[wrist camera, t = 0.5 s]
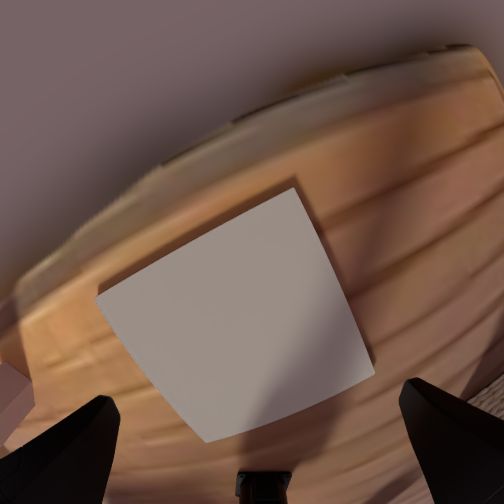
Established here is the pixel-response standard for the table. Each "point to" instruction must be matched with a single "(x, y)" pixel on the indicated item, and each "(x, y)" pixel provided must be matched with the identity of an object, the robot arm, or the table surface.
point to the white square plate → (241, 322)
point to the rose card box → (13, 399)
